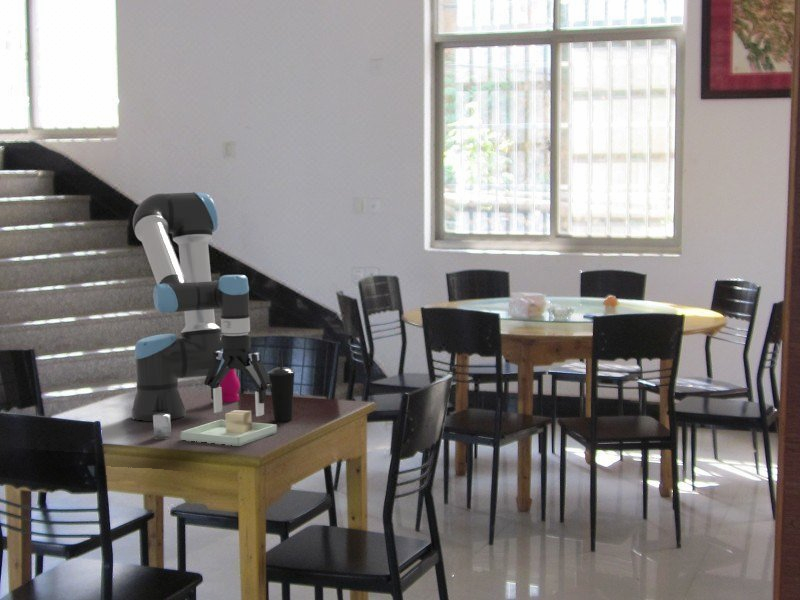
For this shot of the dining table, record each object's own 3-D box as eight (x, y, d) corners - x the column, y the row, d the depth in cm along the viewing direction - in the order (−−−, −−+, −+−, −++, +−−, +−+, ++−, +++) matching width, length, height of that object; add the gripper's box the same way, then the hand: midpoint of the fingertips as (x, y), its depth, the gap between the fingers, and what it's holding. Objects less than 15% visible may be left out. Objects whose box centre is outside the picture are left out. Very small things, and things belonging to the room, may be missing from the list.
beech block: (235, 428, 291) (234, 410, 291) (251, 429, 290) (251, 410, 289) (226, 432, 287) (225, 413, 286) (242, 433, 285) (242, 414, 285)
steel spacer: (150, 438, 284) (149, 416, 284) (161, 435, 288) (160, 413, 288) (163, 440, 282) (162, 417, 282) (174, 436, 286) (173, 414, 286)
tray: (180, 440, 281) (179, 431, 281) (220, 427, 296) (220, 419, 296) (238, 446, 273) (238, 437, 272) (277, 432, 288) (277, 424, 287)
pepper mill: (221, 398, 341) (218, 335, 339) (243, 398, 340) (241, 334, 338) (214, 402, 334) (211, 338, 332) (236, 402, 333) (234, 337, 331)
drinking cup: (271, 417, 309) (269, 347, 307) (298, 416, 308) (296, 346, 306) (267, 422, 301) (264, 351, 299) (295, 422, 301) (292, 350, 299)
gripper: (189, 333, 289) (192, 412, 290) (266, 337, 277) (269, 419, 279) (206, 330, 295) (209, 407, 297) (283, 333, 283) (286, 414, 285)
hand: (238, 413), depth 288 cm, fingers open, 13 cm apart
